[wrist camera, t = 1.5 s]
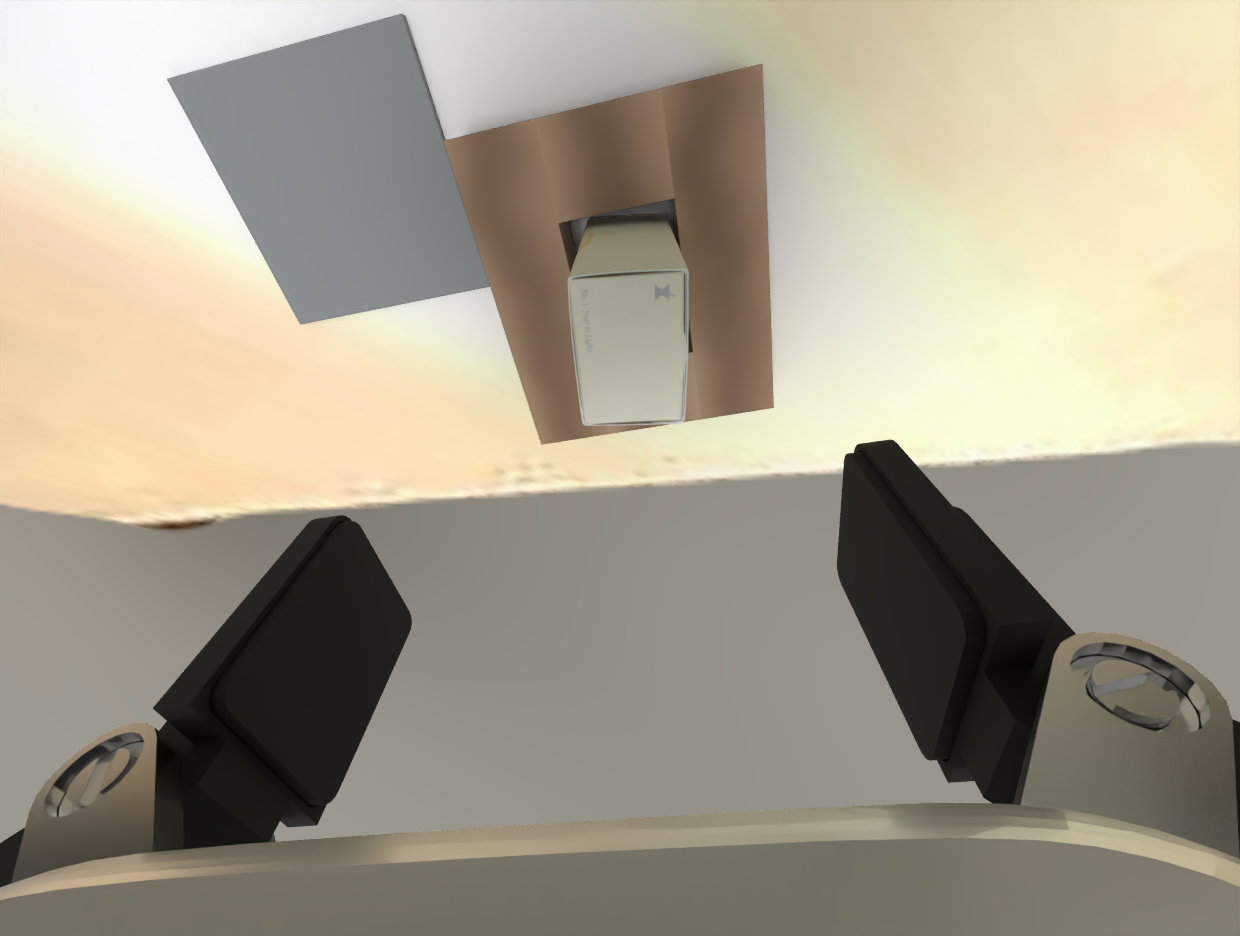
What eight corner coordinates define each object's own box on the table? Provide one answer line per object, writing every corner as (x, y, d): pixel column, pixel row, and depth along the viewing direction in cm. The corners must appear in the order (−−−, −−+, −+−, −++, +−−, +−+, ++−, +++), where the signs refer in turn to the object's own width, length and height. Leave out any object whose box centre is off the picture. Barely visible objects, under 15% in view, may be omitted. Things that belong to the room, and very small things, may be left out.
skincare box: (587, 216, 27) (560, 267, 17) (669, 212, 27) (691, 261, 17) (595, 331, 31) (577, 429, 21) (669, 328, 31) (686, 426, 21)
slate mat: (404, 15, 23) (401, 13, 23) (491, 284, 30) (489, 286, 29) (173, 79, 25) (166, 78, 24) (303, 322, 31) (300, 324, 31)
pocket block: (746, 72, 24) (762, 63, 21) (761, 382, 33) (773, 407, 30) (464, 139, 26) (443, 140, 23) (549, 417, 34) (541, 444, 31)
